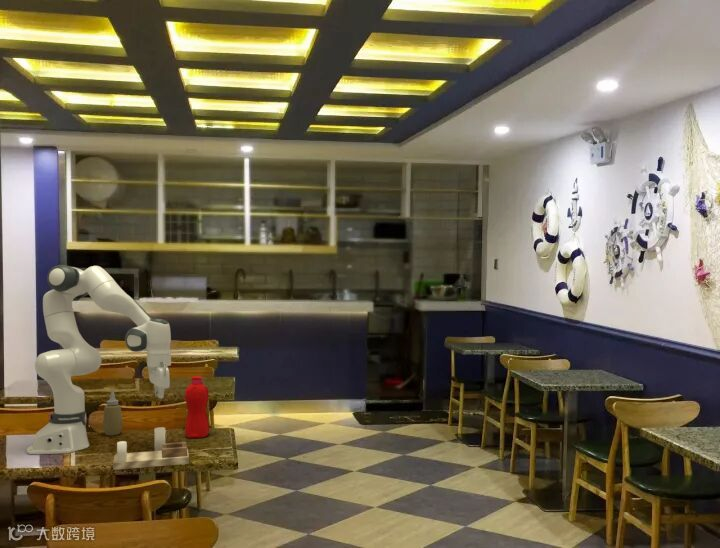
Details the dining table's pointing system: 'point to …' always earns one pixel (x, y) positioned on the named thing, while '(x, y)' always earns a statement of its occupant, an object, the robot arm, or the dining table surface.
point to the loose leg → (159, 438)
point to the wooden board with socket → (155, 457)
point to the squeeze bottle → (112, 417)
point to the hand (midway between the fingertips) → (159, 397)
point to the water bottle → (196, 409)
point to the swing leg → (121, 451)
